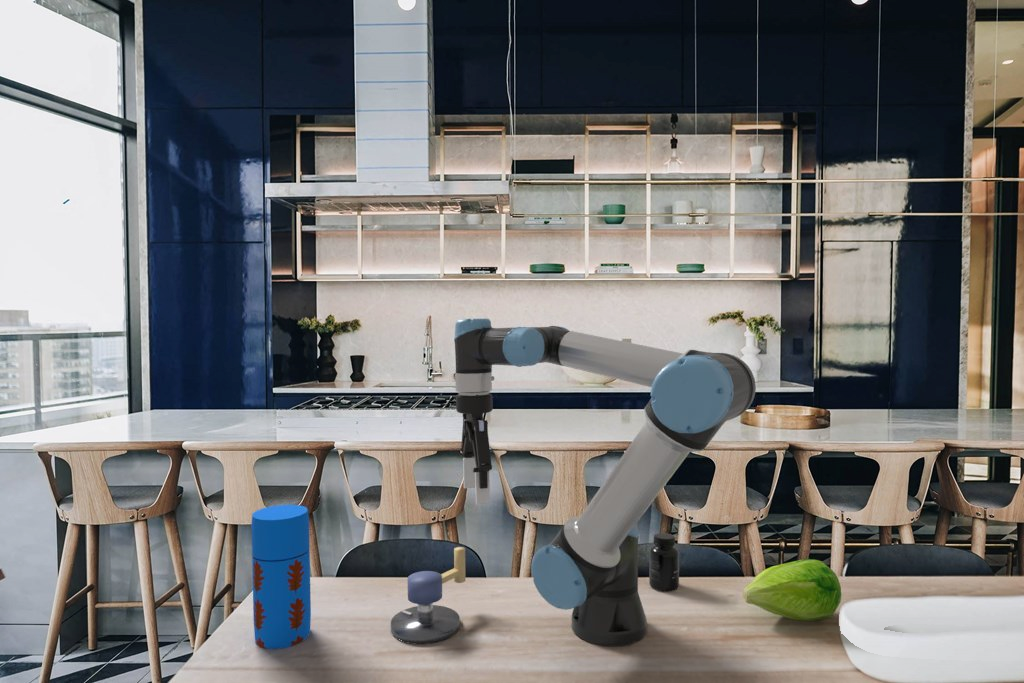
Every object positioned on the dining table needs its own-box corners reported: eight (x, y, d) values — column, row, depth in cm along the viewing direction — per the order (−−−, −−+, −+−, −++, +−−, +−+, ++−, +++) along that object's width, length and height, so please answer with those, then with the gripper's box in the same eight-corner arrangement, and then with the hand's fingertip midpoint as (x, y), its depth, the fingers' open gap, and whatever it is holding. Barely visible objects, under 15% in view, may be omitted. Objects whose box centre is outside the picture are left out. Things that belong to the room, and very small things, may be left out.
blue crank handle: (425, 608, 130) (425, 573, 129) (400, 600, 134) (400, 566, 134) (475, 582, 142) (475, 550, 142) (451, 575, 146) (451, 544, 146)
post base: (473, 623, 136) (473, 594, 136) (427, 651, 125) (426, 620, 125) (424, 606, 145) (423, 579, 144) (376, 631, 133) (375, 602, 133)
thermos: (274, 655, 124) (271, 523, 123) (242, 638, 131) (240, 514, 130) (322, 632, 133) (319, 510, 132) (290, 618, 139) (288, 501, 138)
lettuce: (728, 607, 143) (728, 553, 142) (815, 602, 145) (815, 548, 145) (760, 638, 129) (760, 578, 129) (855, 631, 131) (856, 572, 131)
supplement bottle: (682, 592, 151) (682, 540, 150) (652, 592, 151) (652, 540, 150) (675, 580, 158) (675, 531, 157) (646, 580, 158) (646, 531, 157)
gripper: (506, 398, 125) (508, 509, 126) (479, 386, 149) (481, 480, 150) (467, 400, 123) (469, 513, 124) (446, 388, 147) (448, 482, 148)
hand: (476, 495), depth 137 cm, fingers open, 13 cm apart
